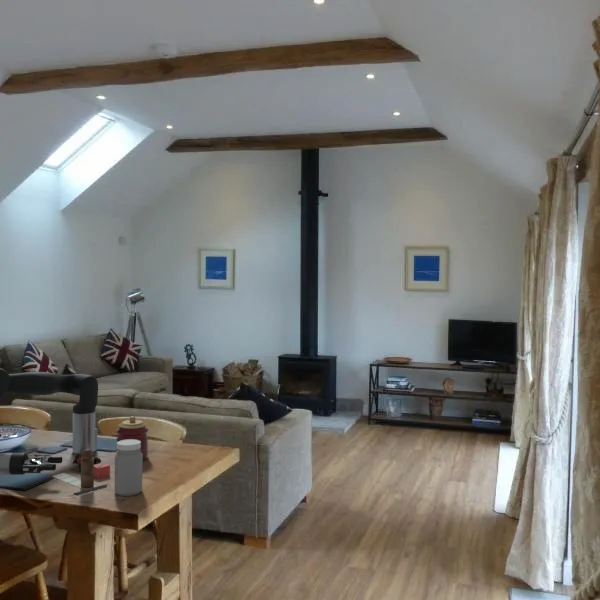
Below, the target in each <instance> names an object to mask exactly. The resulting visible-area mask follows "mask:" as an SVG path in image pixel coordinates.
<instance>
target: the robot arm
mask: <svg viewBox="0 0 600 600" xmlns="http://www.w3.org/2000/svg"><path fill="white" fill-rule="evenodd" d="M9 393H10V394H17V395H18V394H19V395H29V396H30V395H31V396H48V395H54V394H58V393H64V394H71V395H75V396H79V402H78V403H76V404H74V405H73V406H72V453H74V455H75V454H76V455H80V454H82V452H83V451H84V450H85V449H90V450H92V451H93V453H95V452H96V451H98V428H96V407H97V405H98V401H99V400H98V398H99V383H98V379H97V377H96V376H94V375H92V374H91V375H90V374H86V373H85V374H84V373H74V374H57V373H53V372H48V371H47V372H46V371H29V372H28V371H27V372H17V373H9V372H8V371H7V370H6V369H4V368H0V401H2V399H3V397H4V395H5V394H9ZM62 463H63V457H62V456H52V454H50V453H49V454H34V455H33V456H32V457H29V456H28V453H26V452H3V453H0V475H2V476H3V475H4V476H7V475H9V476H12V475H13V476H15V475H16V476H17V475H21V476H23V475H25V474H40V473H41V472H42V473H43V472H46V471H55V470H56V469H57V464H62Z"/></svg>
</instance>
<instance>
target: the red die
mask: <svg viewBox="0 0 600 600" xmlns="http://www.w3.org/2000/svg"><path fill="white" fill-rule="evenodd" d="M110 476H111V464H107V463H104V462H102V461H101V463H99V464H95V465H94V479H95V478H96V479H98V480H99V479H103V478H106V477H110Z"/></svg>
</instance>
